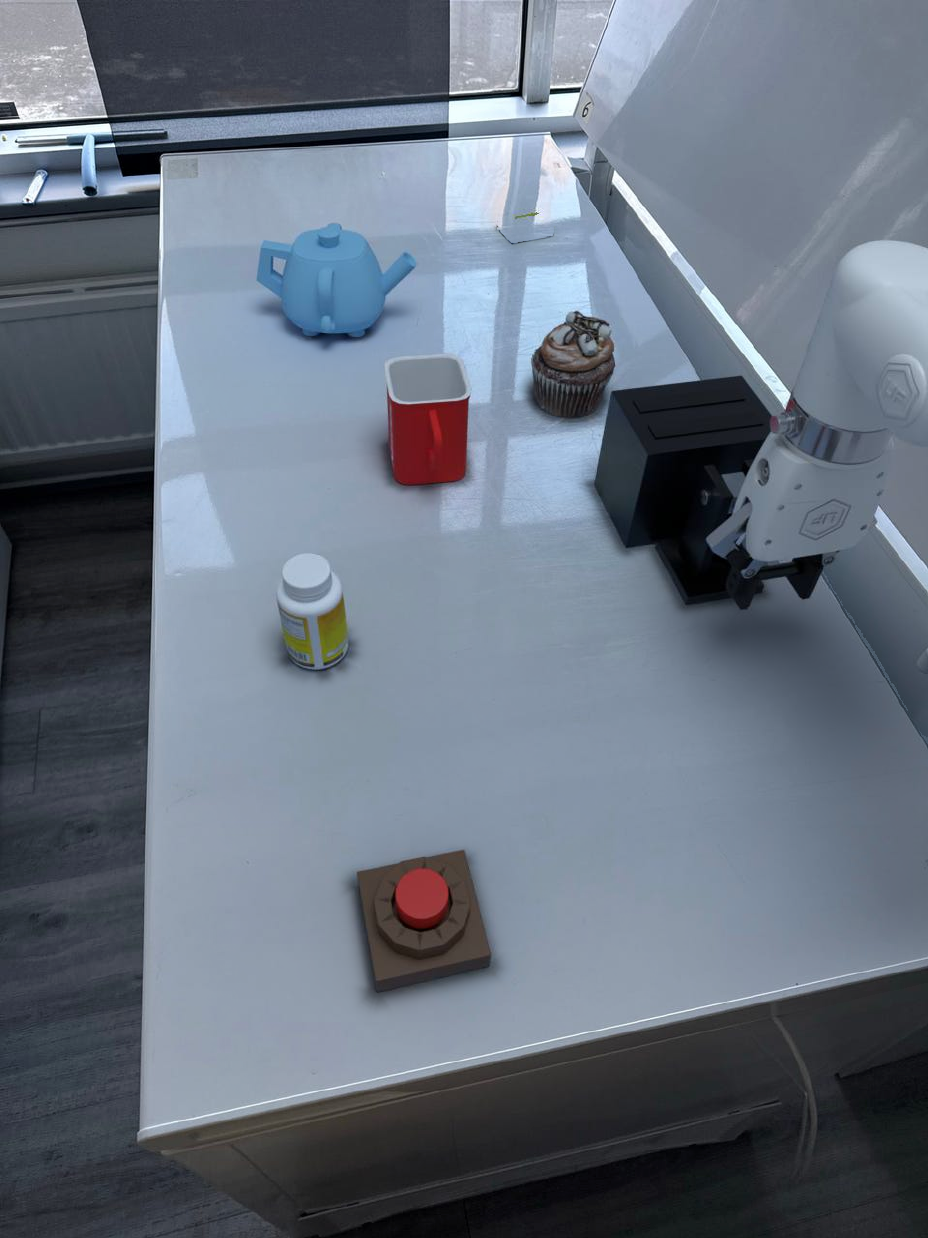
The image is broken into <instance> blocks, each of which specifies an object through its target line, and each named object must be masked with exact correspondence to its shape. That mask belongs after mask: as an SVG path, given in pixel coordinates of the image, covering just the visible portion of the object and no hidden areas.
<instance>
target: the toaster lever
mask: <svg viewBox="0 0 928 1238" xmlns="http://www.w3.org/2000/svg"><path fill="white" fill-rule="evenodd" d="M721 477H722V479H723V480H724V482H725V483H726V485H727V487H728V488H729V490H730V491H731V493H732V494H733V496H734V497H733V500H732V503H731V506H730V509H729V511H728V514H732V513H733V510H734V507H735V504H736V501H737V498H738V495H739V493H740V490H741V487H742V485H743V483H744V481H745V478H746V477H745V475H744V473H743V472H737V473H730V474H723V475H721ZM803 572H804V564H803V562H802V561H800V560H799V561H792V560H791V561H787V562H780V560H777V561H765V562H764V564H763V565H762V566H761V568H760V569H759V570H758V572H757V574H758V575H759V577H760V581H762V582H763V581H768V580H774V579H781V578H787V576H793V575H799V574H802V573H803Z"/></svg>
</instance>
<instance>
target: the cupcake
mask: <svg viewBox="0 0 928 1238" xmlns="http://www.w3.org/2000/svg"><path fill="white" fill-rule="evenodd" d="M564 319H565V321H564V322H563V323H561V324H560V323H559V324H558V325H556V326H555V327H554V328H553V329H552V330H551V331H550V332H549V333H547V334H546V336H545V337H544V338H543V340H542V343H541V345H540V346H539V347H538V348H535V349H534V352H533V354H531V357H530V363H531V370H532V371H531V372H532V380H533V381H532V382H533V392H534V394H533V395H534V400H535V403H536V405H538V407H539V408H540V409H542V410H543V411H545V412H546V413H547V414H550V415H552V416H555V417H559V418H560V417H562V418H568V419H574V418H582V417H584V416H589V415H590V414H592V413H595V411H596V410H597V407H598V406H599V405H600V402H601V400H602V397H603V395H604V393H605V391H606V388H607V386H608V384H609V382H610V380H611V379H612V376H613V375H614V371H615V368H616V360H615V356H614V351H615V343H614V342H613V339H612V338H611V334H612V329H611V328H610V323H609V322H607V321H606V320H604V319H601V318H598V317H596V316H595V317H594V316H586V315H584V314H583V313H582V312H580V311H579V310H575V311H569V312H568V313H567V314H566V315H565V318H564Z"/></svg>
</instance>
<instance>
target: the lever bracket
mask: <svg viewBox="0 0 928 1238" xmlns="http://www.w3.org/2000/svg"><path fill="white" fill-rule="evenodd" d="M753 461H754V459H752V460H745V461H744V463H743V465H742V468H741V471H740V472H743V473H744V475H745V477H746V476H747V474H748V472H749V470H750V467H751V465H752V463H753ZM733 497H734V496H733V494H732V493H731V491H730V490H729V488H728V487H727V485H726V483H725V482H724V480H723V479H722V477H721V476H720V474H719V473H718V471H717V470H716V468H715V466H714V465H708V466H703V470H702V473H701V476H700V480H699V483H698V486H697V490H696V493H695V496H694V500H693V503H692V506H691V510H690V513H689V516H688V520H687V523H686V526H685V530H684V533H683V536H682V537H678V538H671V539H664V540H658V541H657V543H655V544H656V545H655V549H656V551H657V552H658V554H659V556H660V558H661V560H662V562H663V564H664V567H666V570H667V572H668V574H669V575H670V577H671V579H672V581H673V583H674V585H675V587H676V588H677V591H678V592H679V594H680V596H681V598H682V599H683V602H684V604H685V605H691V604H692V605H693V604H698V603H705V602H710V601H716V600H717V601H718V600H722V599H729V598H731V597H730V596H729V594H728V592H727V590H726V581H727V578H728V575H729V573H730V570H731V567H732V565H731V564H730V563H729V562H728V560H727V559H725V558H722V557H720V556H719V555H717V554H715V553H714V552H713V551H712V550H711V548H710V547H709V545H708V543H707V542H706V538H707V537H708V536H709V535H710V534H711V533H712V532H713V531H715V530H716V529H717V528H718V527H719V526H720V525H722V524H723V523H724V522H725V521H726V520H727V519H729V518H730V517H731V516H732V514H733V513H732V514H728V511H729V509H730V506H731V503H732V500H733ZM738 539H739V538H738ZM738 539H737V540H738ZM737 540H735V541H734V542H735V543H736V541H737ZM747 553H748V551H747ZM748 554H749V553H748ZM749 556H751V555H750V554H749ZM764 588H765V583H764V582H763V580H762V581H759V584H758V586H757V589H756V591H755V594H759V593H763V590H764Z"/></svg>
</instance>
